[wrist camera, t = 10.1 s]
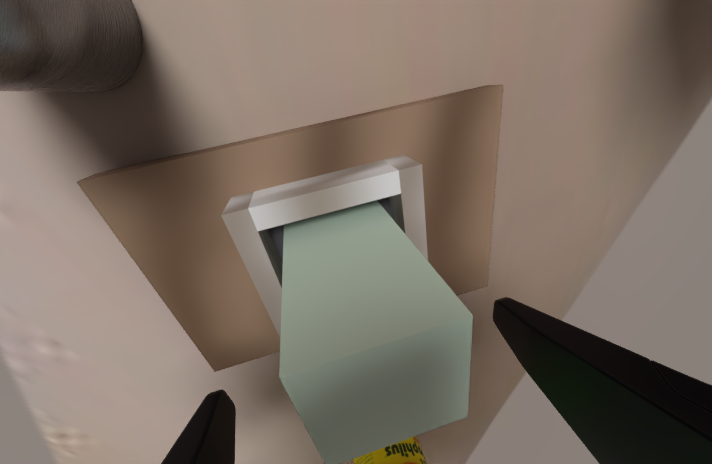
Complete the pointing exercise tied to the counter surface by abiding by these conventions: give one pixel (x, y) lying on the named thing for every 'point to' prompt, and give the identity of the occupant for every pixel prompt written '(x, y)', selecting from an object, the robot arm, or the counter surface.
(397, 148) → the bore board
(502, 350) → the counter surface
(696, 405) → the robot arm
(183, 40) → the counter surface
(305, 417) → the square peg
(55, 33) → the round peg
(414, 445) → the supplement bottle
